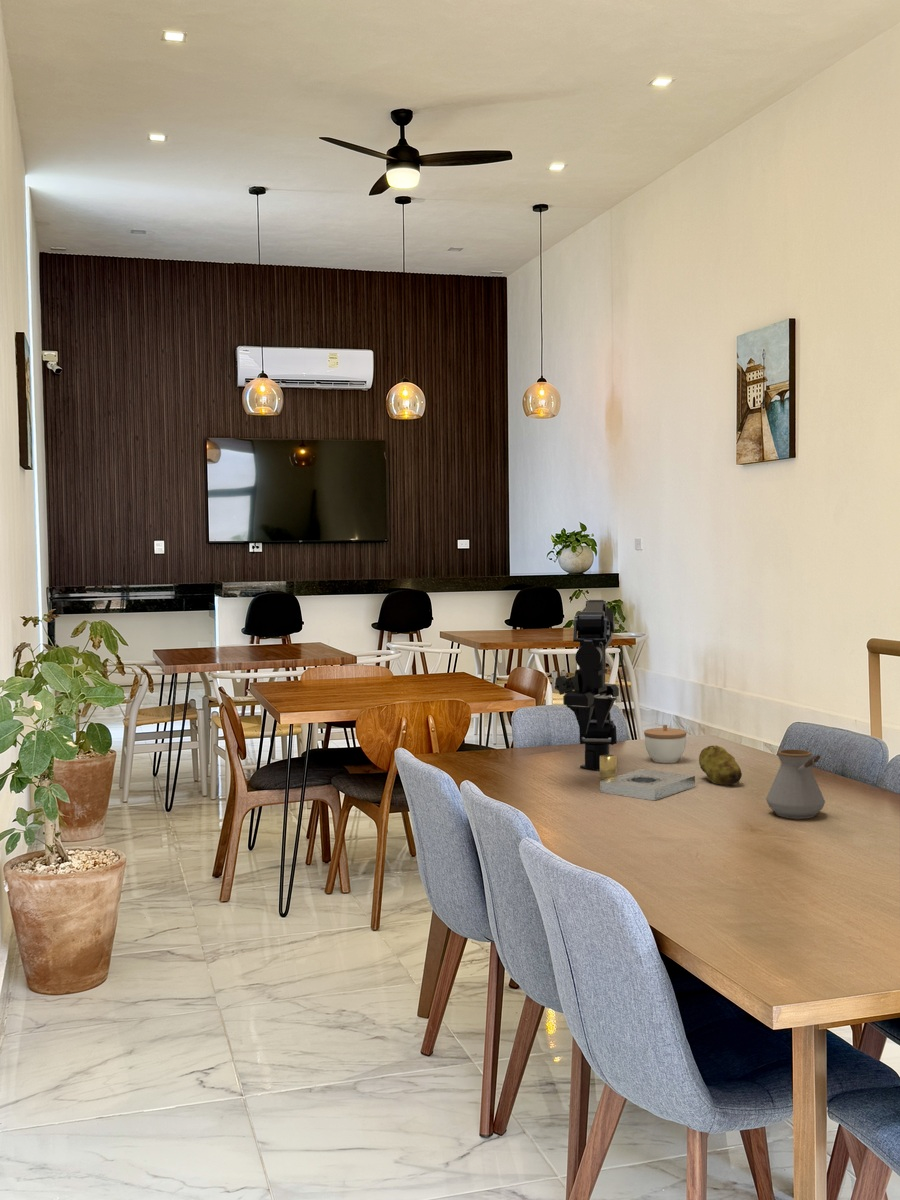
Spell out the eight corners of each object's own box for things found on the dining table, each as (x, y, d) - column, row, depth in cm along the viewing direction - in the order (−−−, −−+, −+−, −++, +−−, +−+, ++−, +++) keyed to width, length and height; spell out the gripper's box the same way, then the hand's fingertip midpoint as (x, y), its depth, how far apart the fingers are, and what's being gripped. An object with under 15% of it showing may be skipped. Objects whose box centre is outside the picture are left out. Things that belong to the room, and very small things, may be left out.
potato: (707, 788, 248) (707, 753, 248) (696, 776, 261) (696, 743, 261) (744, 787, 248) (743, 752, 247) (731, 776, 261) (731, 743, 260)
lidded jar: (690, 764, 275) (690, 728, 275) (648, 765, 275) (647, 728, 275) (681, 756, 286) (681, 721, 286) (641, 757, 286) (640, 722, 286)
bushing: (605, 778, 260) (605, 754, 259) (620, 781, 257) (619, 755, 257) (596, 781, 257) (596, 756, 256) (610, 783, 254) (610, 758, 254)
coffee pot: (759, 808, 228) (759, 737, 227) (814, 807, 228) (814, 736, 227) (789, 834, 207) (789, 756, 206) (849, 833, 206) (850, 755, 206)
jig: (642, 778, 259) (642, 768, 259) (695, 786, 250) (695, 775, 250) (600, 792, 245) (600, 781, 245) (654, 800, 236) (654, 789, 236)
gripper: (577, 659, 267) (578, 722, 268) (542, 667, 251) (543, 734, 252) (619, 661, 261) (620, 725, 262) (586, 670, 245) (587, 738, 246)
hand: (592, 730), depth 256 cm, fingers open, 9 cm apart
